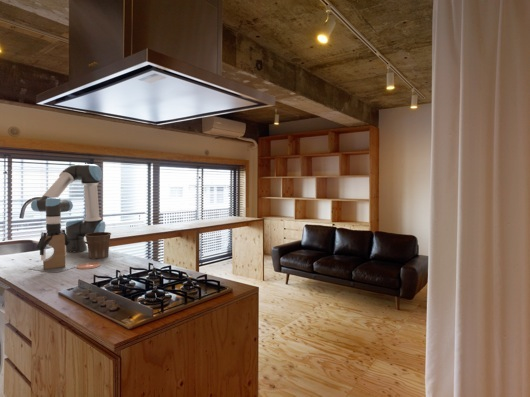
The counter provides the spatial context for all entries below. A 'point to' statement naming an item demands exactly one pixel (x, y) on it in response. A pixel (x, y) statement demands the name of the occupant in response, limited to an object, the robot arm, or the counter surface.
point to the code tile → (54, 270)
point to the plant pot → (98, 244)
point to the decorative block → (56, 252)
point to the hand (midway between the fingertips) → (54, 257)
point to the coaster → (88, 265)
